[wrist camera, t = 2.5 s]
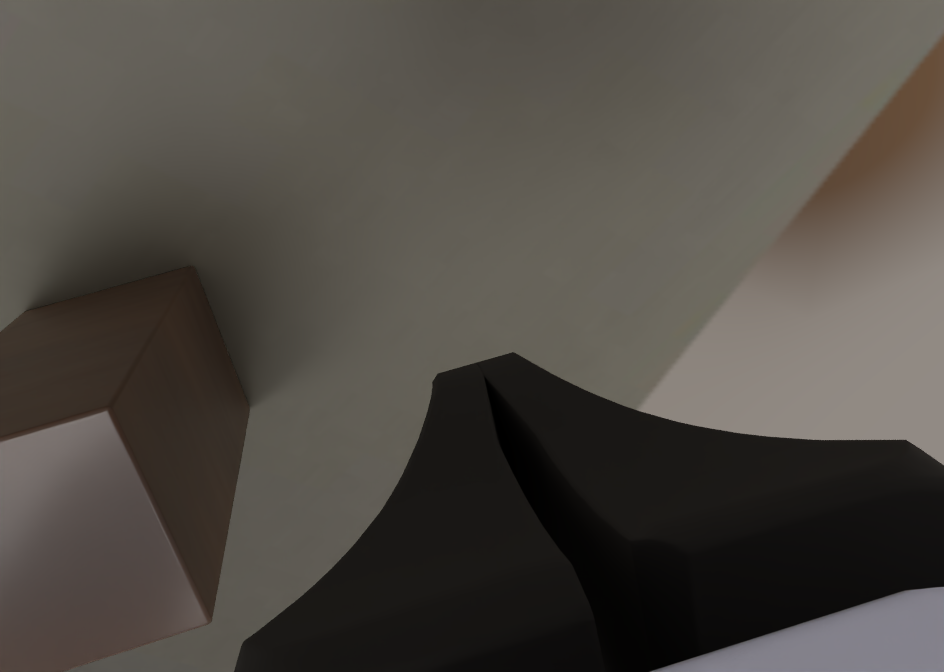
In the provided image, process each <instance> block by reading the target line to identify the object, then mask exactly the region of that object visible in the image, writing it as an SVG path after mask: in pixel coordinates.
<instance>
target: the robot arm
mask: <svg viewBox="0 0 944 672" xmlns="http://www.w3.org/2000/svg"><path fill="white" fill-rule="evenodd" d="M432 384H433V388H432V395H431V400H430V404H429V408H428V412H427V415H426V418H425V421H424V424H423V427H422V430H421V433H420V436H419V439H418V441H417V444H416V446H415V448H414V450H413V453H412V455H411V457H410V459H409V462H408V464H407V466H406V468H405V470H404V472H403V474H402V476H401V478H400V480H399V482H398V484H397V486H396V487H395V489H394V491H393V493H392V494H391V496H390V497H389V499H388V501H387V502H386V504H385V505H384V507H383V509H382V510H381V512H380V513H379V514H378V515H377V517H376V518H375V519H374V521H373V522H372V523H371V524H370V526H369V527H368V528H367V529H366V531H365V532H364V533H363V534H362V536H361V537H360V538H359V539H358V541H357V542H356V543H355V544H354V545H353V547H352V548H351V549H350V550H349V551H348V552H347V553H346V554H345V555H344V556H343V557H342V558H341V559H340V560H339V561H338V562H337V564H336V565H335V566H334V567H333V568H332V569H331V570H330V571H328V572H327V573H326V574H325V575H324V576H323V577H322V578H321V579H320V580H319V581H318V582H317V583H316V584H315V585H314V586H313V587H312V588H310V589H309V590H308V591H307V592H306V593H305V594H304V595H302V596H301V597H300V598H299V599H298V600H296V601H295V602H294V603H293V604H291V605H290V606H289V607H288V608H286V609H285V610H284V611H283V612H281V613H280V614H279V615H278V616H276V617H275V618H274V619H273V620H271V621H270V622H269V623H267V624H266V625H265V626H264V627H262V628H261V629H260V630H259V631H257V632H256V633H255V634H253V635H252V636H250V637H249V638H248V639H246V640H245V641H244V642H243V644H242V646H241V650H240V653H239V656H238V660H237V663H236V667H235V670H234V672H944V465H942V464H941V463H939V462H938V461H937V460H935V459H934V458H932V457H931V456H929V455H928V454H927V453H925V452H924V451H922V450H921V449H919V448H918V447H916V446H915V445H913V444H912V443H910V442H908V441H907V440H807V439H792V438H779V437H766V436H757V435H748V434H740V433H733V432H728V431H722V430H715V429H710V428H704V427H699V426H693V425H689V424H685V423H680V422H676V421H672V420H669V419H665V418H661V417H658V416H654V415H651V414H647V413H643V412H640V411H637V410H634V409H631V408H628V407H625V406H623V405H620V404H617V403H615V402H612V401H610V400H607V399H605V398H602V397H600V396H597V395H595V394H593V393H590V392H588V391H586V390H584V389H581V388H579V387H577V386H575V385H573V384H571V383H569V382H567V381H565V380H563V379H561V378H559V377H557V376H555V375H553V374H551V373H550V372H548V371H546V370H544V369H542V368H540V367H539V366H537V365H535V364H533V363H532V362H530V361H528V360H526V359H525V358H523V357H521V356H519V355H518V354H516V353H514V352H512V353H509V354H505V355H502V356H498V357H495V358H491V359H488V360H484V361H481V362H477V363H474V364H470V365H467V366H463V367H460V368H456V369H453V370H449V371H446V372H442V373H438V374H437V376H436V377H435V379H434V380H433V382H432Z"/></svg>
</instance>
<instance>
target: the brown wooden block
mask: <svg viewBox="0 0 944 672" xmlns="http://www.w3.org/2000/svg"><path fill="white" fill-rule="evenodd" d="M249 413H250V408H249V405H248V403H247V400H246V398H245V395H244V393H243V390H242V387H241V385H240V382H239V380H238V377H237V375H236V372H235V370H234V367H233V364H232V362H231V359H230V357H229V354H228V352H227V349H226V347H225V344H224V341H223V339H222V336H221V334H220V331H219V329H218V326H217V324H216V321H215V318H214V316H213V313H212V311H211V308H210V306H209V303H208V301H207V298H206V295H205V293H204V290H203V288H202V285H201V283H200V280H199V278H198V275H197V272H196V270H195V268H194V267H193V266H188V267H185V268H181V269H177V270H174V271H170V272H166V273H163V274H159V275H156V276H152V277H148V278H145V279H141V280H137V281H134V282H130V283H127V284H123V285H119V286H116V287H112V288H108V289H105V290H101V291H98V292H94V293H90V294H87V295H83V296H80V297H76V298H72V299H69V300H65V301H61V302H58V303H54V304H51V305H47V306H43V307H40V308H36V309H32V310H29V311H25V312H24V313H22V314H21V315H20V316H19V317H18V318H16V319H15V320H14V321H13V322H12V323H11V324H9V325H8V326H7V327H6V328H5V329H4V330H2V331H1V332H0V672H63V671H66V670H69V669H72V668H76V667H79V666H82V665H85V664H88V663H91V662H94V661H97V660H100V659H103V658H106V657H109V656H112V655H116V654H119V653H122V652H125V651H128V650H131V649H134V648H137V647H140V646H143V645H146V644H149V643H152V642H155V641H159V640H162V639H165V638H168V637H171V636H174V635H177V634H180V633H183V632H186V631H189V630H192V629H195V628H199V627H202V626H205V625H208V624H209V623H211V621H212V617H213V612H214V606H215V601H216V595H217V590H218V584H219V578H220V573H221V567H222V562H223V556H224V551H225V545H226V540H227V534H228V529H229V523H230V518H231V512H232V507H233V501H234V495H235V490H236V484H237V479H238V473H239V468H240V462H241V457H242V451H243V446H244V440H245V435H246V429H247V424H248V418H249Z"/></svg>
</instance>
